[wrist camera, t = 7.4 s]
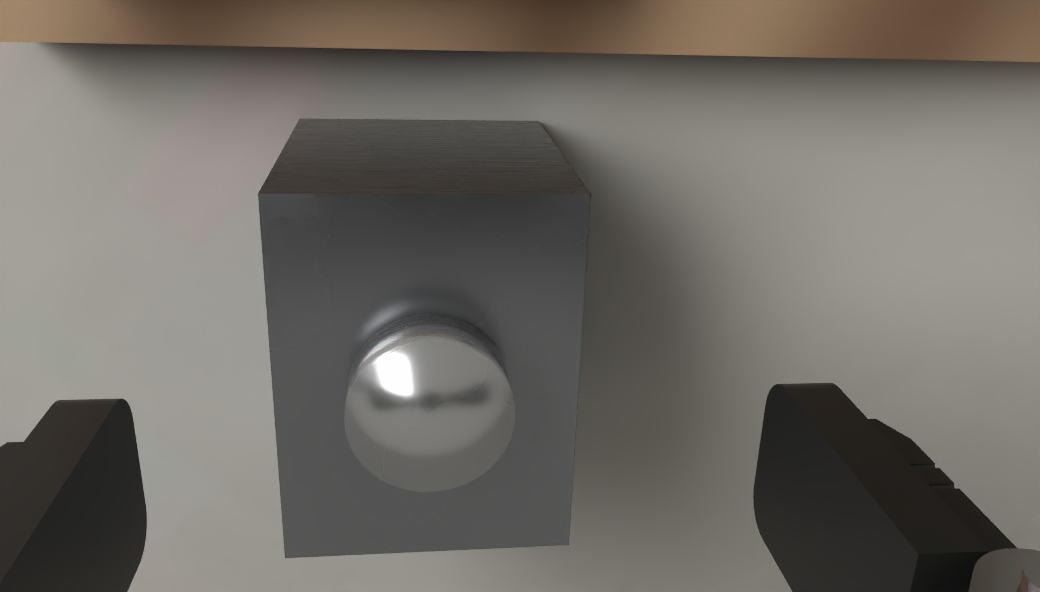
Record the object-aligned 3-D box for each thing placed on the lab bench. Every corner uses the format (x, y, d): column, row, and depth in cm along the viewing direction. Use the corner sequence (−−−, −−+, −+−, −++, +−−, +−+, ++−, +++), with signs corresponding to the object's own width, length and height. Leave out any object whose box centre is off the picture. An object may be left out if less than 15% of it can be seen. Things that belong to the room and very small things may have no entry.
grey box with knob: (315, 396, 20) (277, 600, 14) (300, 117, 17) (246, 214, 11) (527, 391, 20) (578, 584, 14) (538, 120, 18) (604, 214, 12)
